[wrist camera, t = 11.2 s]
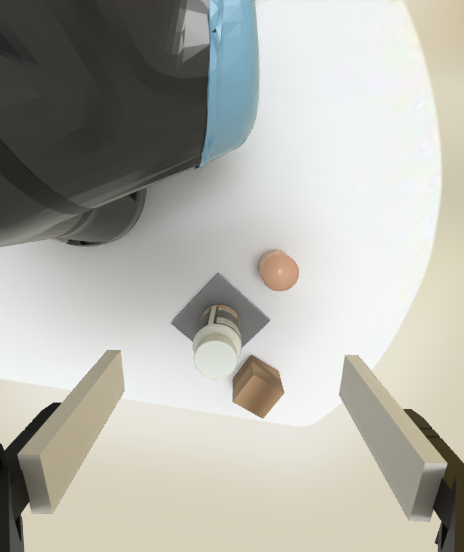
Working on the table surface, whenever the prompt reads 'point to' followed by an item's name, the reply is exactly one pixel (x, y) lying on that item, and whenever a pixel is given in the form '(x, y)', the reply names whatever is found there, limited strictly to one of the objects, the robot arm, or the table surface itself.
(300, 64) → the table surface
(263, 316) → the coaster
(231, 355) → the pill bottle
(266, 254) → the peach dome knob
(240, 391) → the walnut block
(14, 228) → the robot arm
